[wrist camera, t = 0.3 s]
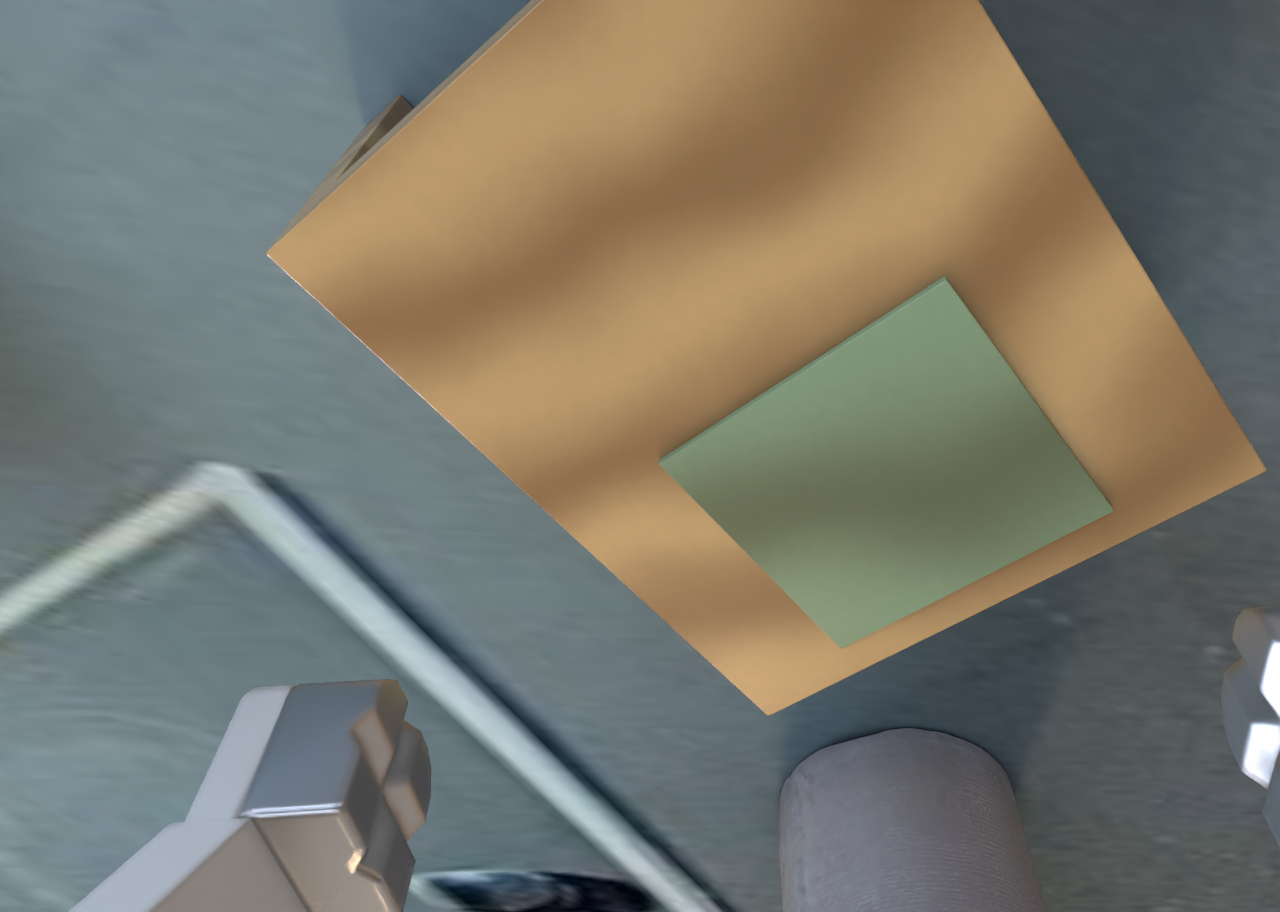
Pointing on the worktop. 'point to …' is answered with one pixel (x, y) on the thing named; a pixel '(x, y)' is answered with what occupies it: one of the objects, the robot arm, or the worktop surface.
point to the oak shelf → (774, 316)
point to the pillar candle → (903, 829)
